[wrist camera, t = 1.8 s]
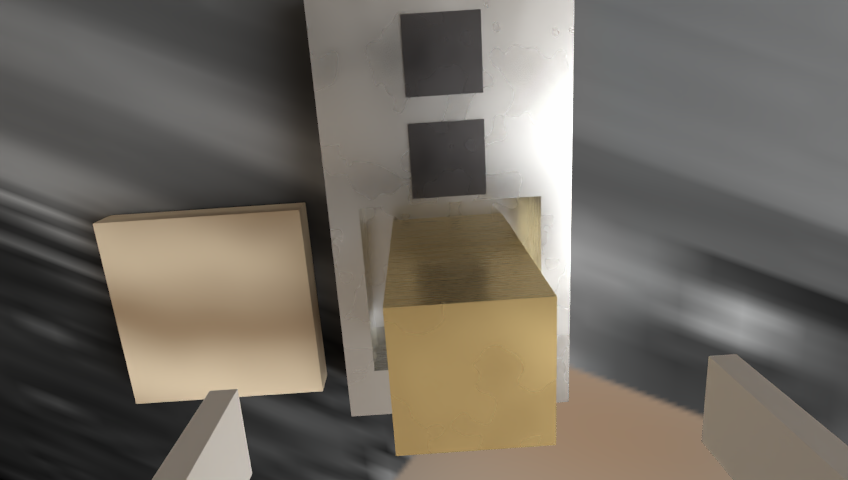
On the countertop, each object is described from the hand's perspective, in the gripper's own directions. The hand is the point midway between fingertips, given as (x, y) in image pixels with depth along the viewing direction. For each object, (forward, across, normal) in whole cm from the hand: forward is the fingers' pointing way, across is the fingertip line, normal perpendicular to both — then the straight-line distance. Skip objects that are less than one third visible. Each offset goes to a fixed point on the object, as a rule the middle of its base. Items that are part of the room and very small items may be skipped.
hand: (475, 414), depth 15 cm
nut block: (+11, 0, +1) cm, 11 cm away
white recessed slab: (+12, 0, +4) cm, 12 cm away
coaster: (+12, -11, 0) cm, 16 cm away
